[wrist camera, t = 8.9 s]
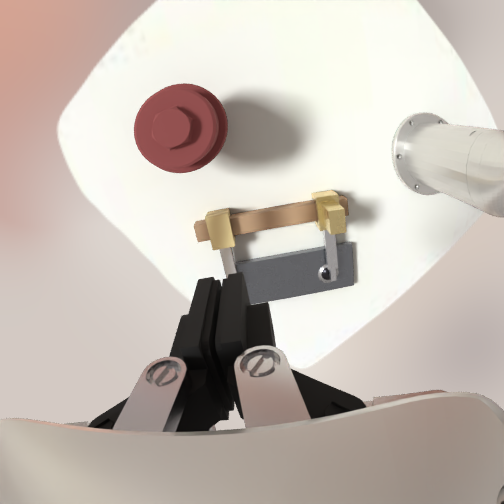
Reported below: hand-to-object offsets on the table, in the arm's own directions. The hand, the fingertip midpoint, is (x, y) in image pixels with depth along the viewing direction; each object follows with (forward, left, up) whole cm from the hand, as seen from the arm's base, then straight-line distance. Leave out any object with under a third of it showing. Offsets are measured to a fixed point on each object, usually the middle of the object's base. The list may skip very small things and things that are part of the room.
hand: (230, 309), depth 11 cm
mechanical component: (+5, -8, -31) cm, 33 cm away
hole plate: (-5, +16, -31) cm, 35 cm away
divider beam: (-3, +10, -31) cm, 33 cm away
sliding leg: (-10, +10, -31) cm, 34 cm away
